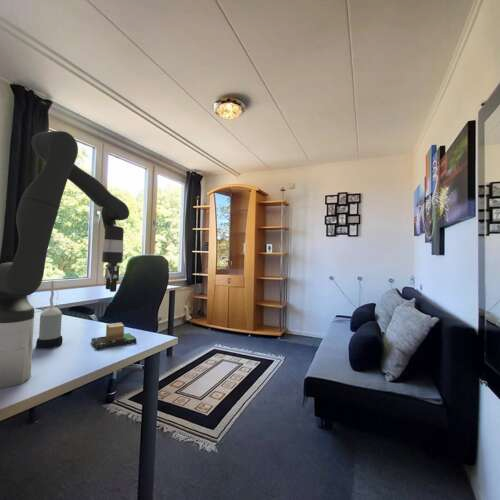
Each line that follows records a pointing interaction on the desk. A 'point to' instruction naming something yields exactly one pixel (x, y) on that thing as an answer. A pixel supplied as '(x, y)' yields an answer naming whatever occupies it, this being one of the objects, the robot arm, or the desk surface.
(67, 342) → the desk surface
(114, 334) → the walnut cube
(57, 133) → the robot arm
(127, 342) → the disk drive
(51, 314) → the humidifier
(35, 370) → the desk surface
